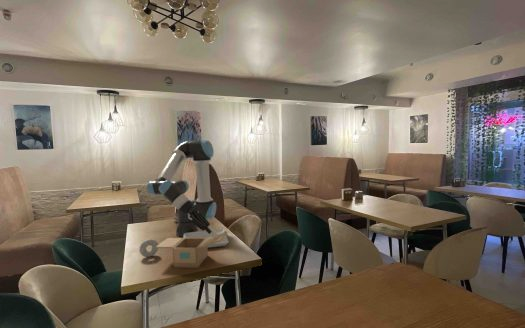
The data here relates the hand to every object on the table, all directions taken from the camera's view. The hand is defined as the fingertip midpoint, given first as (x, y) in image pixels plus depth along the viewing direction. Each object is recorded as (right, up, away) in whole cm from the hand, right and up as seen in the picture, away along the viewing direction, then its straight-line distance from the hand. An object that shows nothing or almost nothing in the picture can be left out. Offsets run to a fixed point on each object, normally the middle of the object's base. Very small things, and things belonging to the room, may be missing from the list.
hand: (215, 236), depth 139 cm
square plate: (-12, -13, +31) cm, 36 cm away
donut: (-39, -14, +11) cm, 43 cm away
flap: (-1, -1, +1) cm, 2 cm away
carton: (-18, -14, +3) cm, 23 cm away
